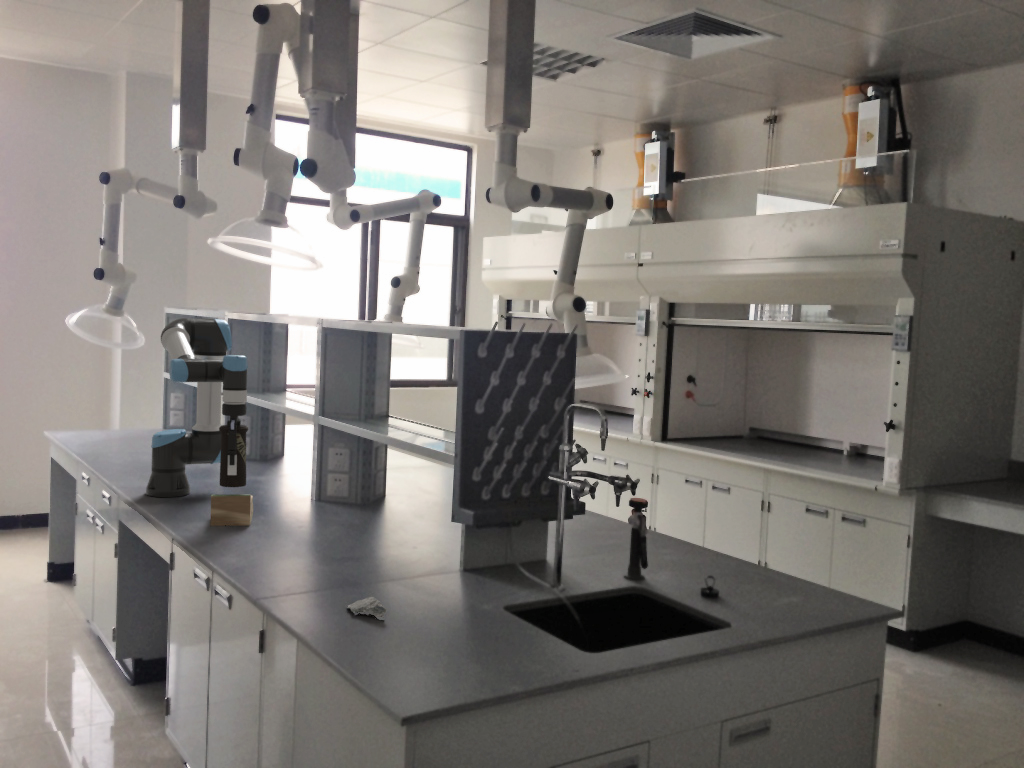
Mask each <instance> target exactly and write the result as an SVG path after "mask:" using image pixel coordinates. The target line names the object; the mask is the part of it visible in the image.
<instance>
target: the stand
mask: <svg viewBox="0 0 1024 768" xmlns="http://www.w3.org/2000/svg"><path fill="white" fill-rule="evenodd" d="M253 497H254V496H253V495H251V494H246V493H245V494H242V493H241V494H240V493H239V494H235V493H233V494H211V495H210V526H211V527H212V526H213V527H219V526H220V527H221V526H225V525H226V526H231V527H233V526H251V522H252V519H253V516H254V503H253V502H254V498H253ZM226 526H225V527H226Z"/></svg>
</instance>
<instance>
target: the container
mask: <svg viewBox="0 0 1024 768" xmlns="http://www.w3.org/2000/svg"><path fill="white" fill-rule="evenodd" d="M221 425H222V426H221V427H219V430H220V432H221V459H220V463H219V464H220V465H219V486H220V487H224V488H242V487H245V486H246V485H247V432H248V431H249V427H248V426H247V425H245V424H241V425H240V426H237V435H236V438H237V449H236V452H237V454H236V455H237V475H228V455H226V453H227V451H228V426H227V424H221Z"/></svg>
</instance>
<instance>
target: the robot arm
mask: <svg viewBox="0 0 1024 768" xmlns="http://www.w3.org/2000/svg"><path fill="white" fill-rule="evenodd" d="M160 343H161V344H162V347H163V349H165V351H167V352H168V354H169V357H170V359H171V360H170V362H169V369H168V371H169V372H168V373H169V374H168V375H169V379H170V381H171V382H174V383H197V384H196V386H197V387H196V421H195V422H196V423H195V424H194V425H193V426H192V427H191V432H187V431H186V429H184V428H175V429H173V428H171V429H166V430H161V431H158V432H155V433H154V434H153V435H152V437H151V446H150V447H151V473H150V475H149V478H148V482H147V483H146V487H145V494H146V496H149V497H155V498H176V497H183V496H187V495H189V494H191V485H190V483H189V480H188V476H187V473H186V465H207V464H210V465H213V464H220V459H221V432H220V430H219V427H221V426H222V425H223V424H222V423H221V422H222V421H221V420H222V415H223V416H226V417H227V416H229V419H228V420H227V421H226V425H227V426H228V451H227V453H226V455H228V475H237V455H236V454H237V452H236V449H237V438H236V435H237V426H240V425H242V424H241V423H242V422H241V421H242V420H241V419H240V418H239V417H241V416H246V415H247V404H246V402H247V400H248V399H247V398H248V390H247V389H248V388H247V386H248V384H247V383H248V367H249V365H248V358H247V356H245V355H241V354H239V355H238V354H228V353H227V352H229V351H231V350H232V348H233V347H232V345H233V340H232V333H231V328H230V324H229V323H228V321H226V320H225V319H220V318H194V317H183V318H181V317H180V318H178V319H174V320H172V321H171V322H169V323H168V324H167V325H166V326H165V327H164V328H163V329H162V331H161V334H160ZM222 402H223V403H222ZM221 414H222V415H221Z"/></svg>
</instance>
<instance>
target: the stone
mask: <svg viewBox="0 0 1024 768" xmlns="http://www.w3.org/2000/svg"><path fill="white" fill-rule="evenodd" d="M347 606H348V607H347ZM347 606H346V608H347V609H350V611H351V612H352V614H353V613H358V612H364V613H369V614H371V615H375V616H377V617H384V618H385V614H386V611H387V607H386V606H385V605H383V604H382V602H381V601H380V600H379V599H377V598H376V597H374V596H368V597H366V598H363V599H358V600H356V601H355V602H353V603H351V604H348V605H347ZM371 615H370V616H371Z"/></svg>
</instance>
